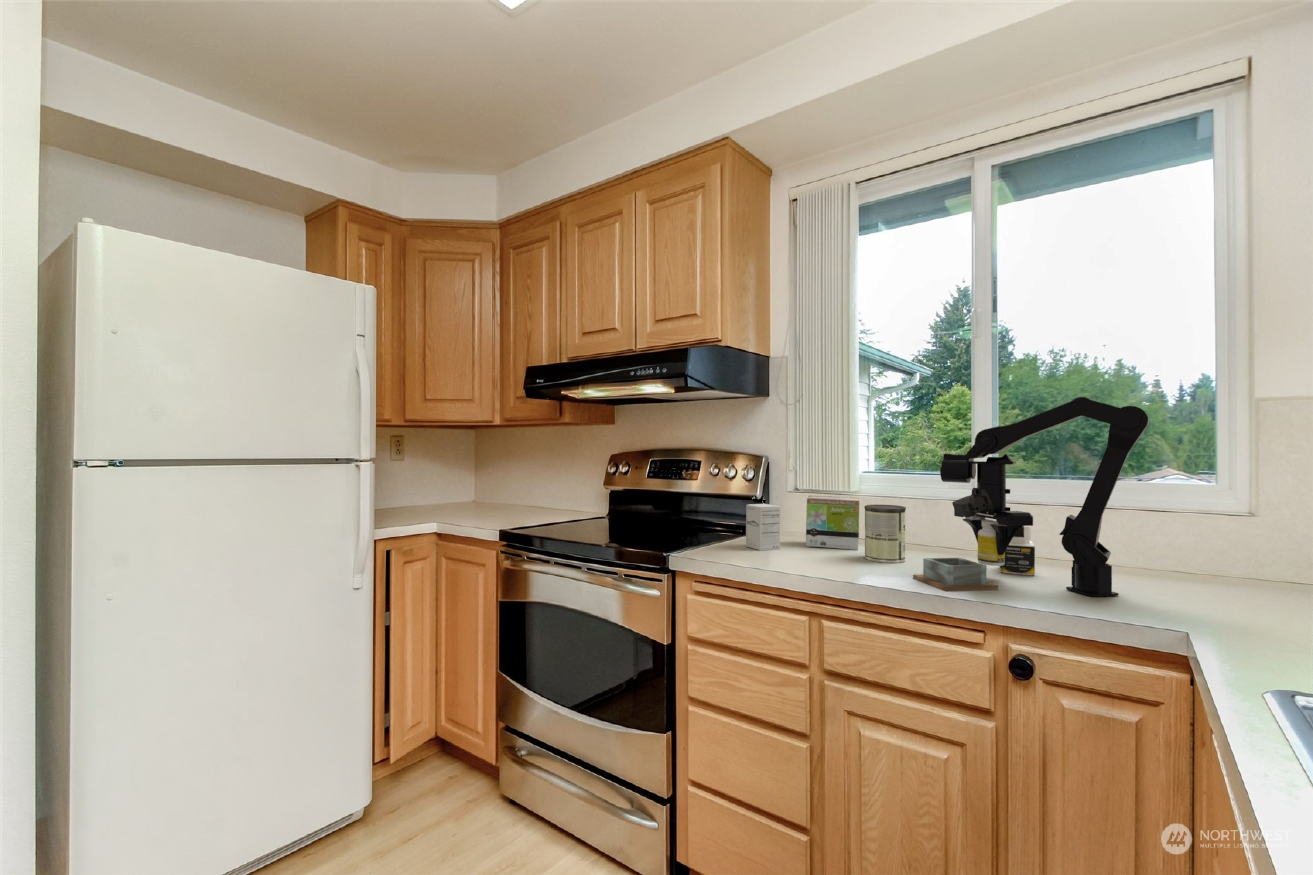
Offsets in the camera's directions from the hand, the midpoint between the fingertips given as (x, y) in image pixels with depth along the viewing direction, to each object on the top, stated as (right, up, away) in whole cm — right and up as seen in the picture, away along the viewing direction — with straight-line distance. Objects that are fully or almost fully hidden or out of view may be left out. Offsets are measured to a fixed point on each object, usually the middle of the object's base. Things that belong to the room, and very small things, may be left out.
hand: (991, 552), depth 135 cm
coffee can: (-15, -6, +23) cm, 28 cm away
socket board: (-11, -6, -5) cm, 13 cm away
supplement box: (-45, -6, +39) cm, 60 cm away
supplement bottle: (0, -3, 0) cm, 3 cm away
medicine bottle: (+11, -7, +9) cm, 15 cm away
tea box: (-24, -7, +43) cm, 49 cm away
